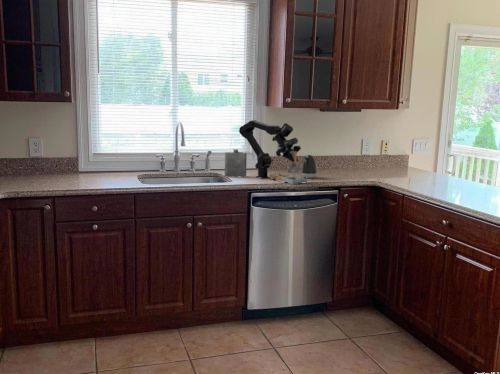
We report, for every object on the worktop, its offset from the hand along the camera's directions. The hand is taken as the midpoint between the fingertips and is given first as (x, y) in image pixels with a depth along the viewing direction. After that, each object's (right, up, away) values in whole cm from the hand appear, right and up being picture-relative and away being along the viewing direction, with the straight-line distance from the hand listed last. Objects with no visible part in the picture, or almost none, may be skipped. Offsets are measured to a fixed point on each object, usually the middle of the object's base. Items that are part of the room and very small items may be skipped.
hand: (295, 161), depth 309 cm
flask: (-38, -9, +23) cm, 45 cm away
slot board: (-8, -11, +13) cm, 19 cm away
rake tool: (-1, -7, +2) cm, 7 cm away
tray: (-1, -13, +4) cm, 13 cm away
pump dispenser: (+11, -10, +22) cm, 26 cm away
